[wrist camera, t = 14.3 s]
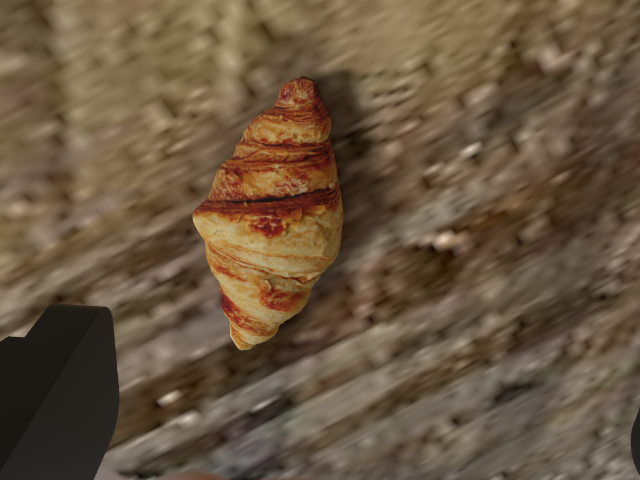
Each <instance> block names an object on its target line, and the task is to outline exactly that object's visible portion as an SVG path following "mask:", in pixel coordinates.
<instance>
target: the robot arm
mask: <svg viewBox="0 0 640 480" xmlns="http://www.w3.org/2000/svg"><path fill="white" fill-rule="evenodd" d="M118 410H119V383H118V372H117V361H116V349H115V338H114V327H113V318H112V314H111V311H110V310H109V308H107V307H100V306H85V305H70V304H55V303H54V304H51V305H50V306H49V307H48V308H47V309H46V310H45V311H44V313H43V314H42V315H41V317H40V318H39V319H38V321H37V322H36V323H35V324H34V326H33V327H32V328H31V330H30V331H29V332H28V334H27V335H26V336H25V337H10V336H8V337H7V338H5V339H4V340H2V341H1V342H0V480H94V478H95V475H96V473H97V471H98V468H99V466H100V464H101V462H102V459H103V457H104V455H105V452H106V450H107V448H108V445H109V443H110V441H111V438H112V436H113V433H114V430H115V426H116V422H117V417H118ZM631 451H632V457H633V461H634V464H635V466H636V469H637V471H638V473H639V475H640V409H639V412H638V414H637V417H636V419H635V422H634V425H633V428H632V433H631Z"/></svg>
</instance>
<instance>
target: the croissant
mask: <svg viewBox="0 0 640 480" xmlns="http://www.w3.org/2000/svg"><path fill="white" fill-rule="evenodd" d="M330 129H331V118H330V116H329V113H328V111H327V109H326V107H325V105H324V103H323V101H322V99H321V96H320V92H319V89H318V84H317V83H316V82H315V81H313V80H311V79H310V78H307V77H305V76H303V77H300V78H299V79H296V78H294V79H292V80H290V81H289V82H287V83H286V84H284V85H283V87H282V88H281V90H280V93H279V97H278V99H277V101H276V103H275V107H274V108H269V109H268V110H266V111H264V112H262V113H260V114H259V115H258V116H257V117H256V118H254V119H253V120H252V121H251V123H250V125H249V127H248V128H247V130H246V131H244V132H243V133H244V136H243V138H242V139H241V141H240V142H239V143H238V144H237V145H236V151H235V153H234V155H233V158H232V159H227V160H226V161H225V162H224V163H223V164H222V166H221V167H220V169H219V170H218V172H217V174H216V176H215V179H214V182H213V184H212V189H211V191H210V194H209V196H208V197H207V199H206V201H205V202H203V203H201V206H198V207H197V208H196V209H195V210H194V212H193V222H194V225H195V226H196V228H197V230H198V231H199V232H200V234H201V236H202V237H203V239H204V240H205V248H206V254H207V261H208V263H209V265H210V268H211V271H212V272H213V274H214V276H215V277H216V278H217V279H218V280H219V282H220V292H221V304H222V308H223V311H224V314H225V315H226V316H227V318H228V319H229V321H230V336H231V338H232V339H233V341H234V342H235V344H236V346H237V347H238V349H240V350H247V349H251V348H253V347H254V346H255V345H256V344H260V343H261V342H265V341H267V340H268V339H270V338H271V337H273V336H274V335H275V334H276V333H277V331H278V328H279V326H280V324H282V323H284V322H285V320H288V319H290V318H291V317H292V316H294V315H296V313H299V312H300V311H301V310H302V309H303V307H304V306H305V305H306V303H307V302H308V298H309V296H310V295H311V289H312V287H313V285H314V283H315V282H317V281H318V280H319V278H320V276H321V274H322V273H323V272H324V271H326V270H327V266H329V265H331V264H332V263H333V262H334V260H335V258H336V257H337V256H338V252H339V248H340V244H341V232H342V225H343V206H342V198H341V192H340V188H339V183H338V176H337V168H336V162H335V156H334V152H333V150H332V146H331V142H330V139H329V137H328V136H329V133H330Z"/></svg>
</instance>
